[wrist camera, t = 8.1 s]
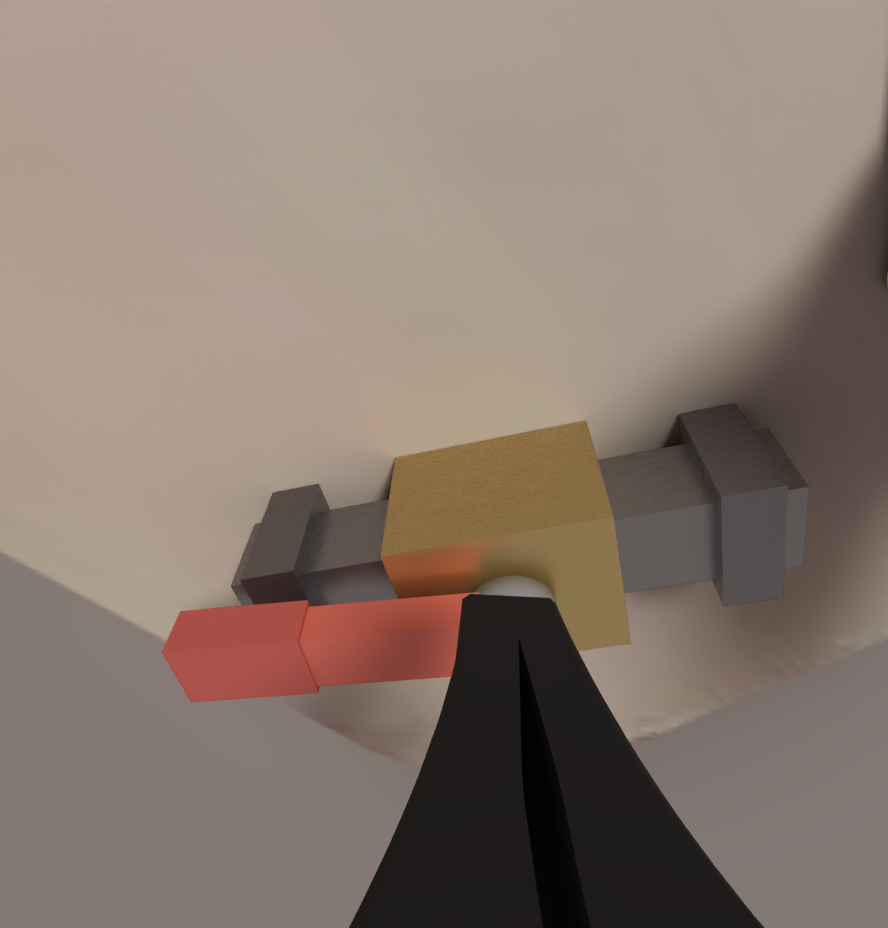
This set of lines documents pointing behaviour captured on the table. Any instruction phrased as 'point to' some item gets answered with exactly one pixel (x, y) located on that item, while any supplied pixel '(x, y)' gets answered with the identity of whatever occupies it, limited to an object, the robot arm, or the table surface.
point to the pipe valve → (548, 525)
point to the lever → (321, 643)
